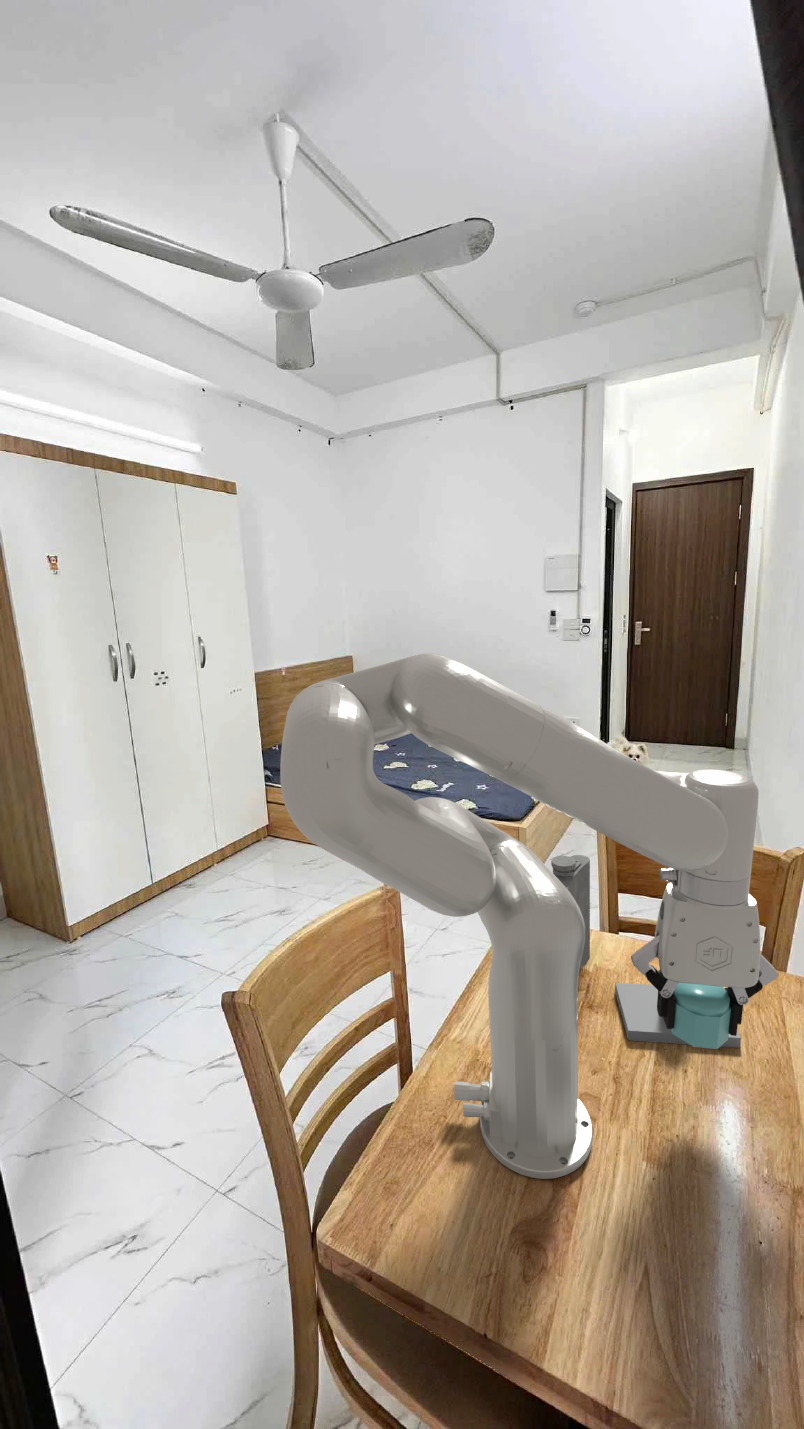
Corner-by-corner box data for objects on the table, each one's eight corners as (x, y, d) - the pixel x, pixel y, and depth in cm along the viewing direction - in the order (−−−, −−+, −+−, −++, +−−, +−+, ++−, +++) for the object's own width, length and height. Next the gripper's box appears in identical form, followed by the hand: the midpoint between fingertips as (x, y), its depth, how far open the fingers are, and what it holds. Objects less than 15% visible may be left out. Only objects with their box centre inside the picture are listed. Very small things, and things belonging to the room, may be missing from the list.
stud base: (628, 1040, 80) (628, 1030, 80) (615, 991, 90) (615, 982, 90) (740, 1047, 78) (740, 1038, 77) (714, 997, 87) (715, 988, 87)
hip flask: (563, 1011, 86) (562, 886, 82) (536, 1003, 89) (533, 880, 85) (592, 953, 100) (592, 842, 96) (568, 947, 102) (567, 838, 98)
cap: (676, 1044, 67) (679, 1005, 66) (663, 1009, 73) (665, 972, 72) (734, 1050, 66) (738, 1011, 65) (715, 1014, 72) (719, 977, 71)
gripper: (635, 892, 64) (626, 1039, 67) (812, 904, 61) (793, 1056, 64) (622, 862, 71) (614, 995, 74) (780, 871, 68) (764, 1010, 71)
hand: (697, 1022), depth 69 cm, fingers closed on cap, 6 cm apart
